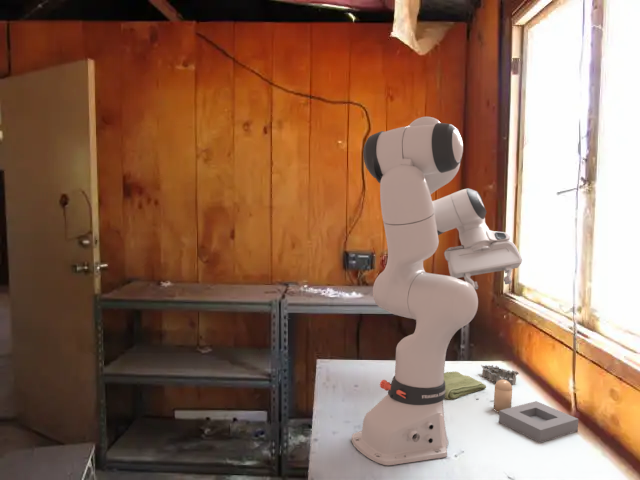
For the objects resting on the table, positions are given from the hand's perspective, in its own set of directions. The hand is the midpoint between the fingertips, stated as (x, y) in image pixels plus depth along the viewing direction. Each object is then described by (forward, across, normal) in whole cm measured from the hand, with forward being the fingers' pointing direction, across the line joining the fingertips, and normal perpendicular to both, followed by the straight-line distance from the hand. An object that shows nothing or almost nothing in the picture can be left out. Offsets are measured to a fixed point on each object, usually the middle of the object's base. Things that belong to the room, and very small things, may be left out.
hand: (492, 286), depth 138 cm
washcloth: (+22, -14, +23) cm, 35 cm away
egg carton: (+20, +3, +32) cm, 37 cm away
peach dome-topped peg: (+31, -4, +11) cm, 33 cm away
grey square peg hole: (+37, 0, +3) cm, 37 cm away
